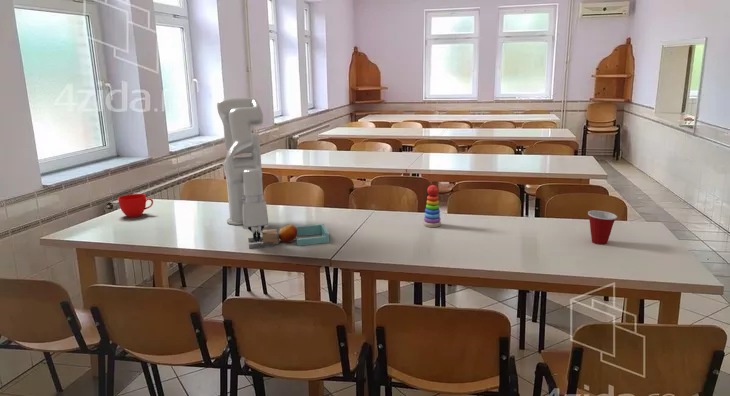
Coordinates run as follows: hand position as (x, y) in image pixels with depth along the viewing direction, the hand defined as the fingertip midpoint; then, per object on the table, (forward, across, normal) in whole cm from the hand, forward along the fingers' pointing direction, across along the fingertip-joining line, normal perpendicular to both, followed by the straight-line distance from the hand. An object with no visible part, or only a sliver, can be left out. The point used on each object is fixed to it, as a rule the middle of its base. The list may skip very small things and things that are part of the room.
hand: (257, 241), depth 225 cm
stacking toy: (+2, +78, +4) cm, 79 cm away
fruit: (+2, +13, 0) cm, 13 cm away
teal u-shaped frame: (+1, +22, 0) cm, 23 cm away
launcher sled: (+1, +5, 0) cm, 6 cm away
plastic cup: (+2, +134, -39) cm, 140 cm away
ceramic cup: (+2, -58, +66) cm, 88 cm away
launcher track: (+1, +2, 0) cm, 2 cm away
